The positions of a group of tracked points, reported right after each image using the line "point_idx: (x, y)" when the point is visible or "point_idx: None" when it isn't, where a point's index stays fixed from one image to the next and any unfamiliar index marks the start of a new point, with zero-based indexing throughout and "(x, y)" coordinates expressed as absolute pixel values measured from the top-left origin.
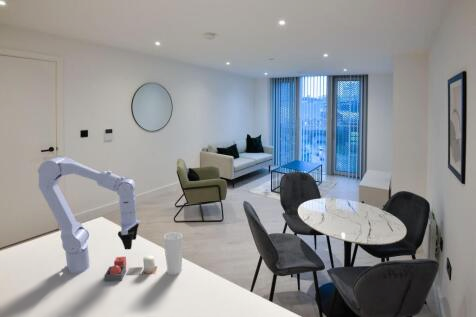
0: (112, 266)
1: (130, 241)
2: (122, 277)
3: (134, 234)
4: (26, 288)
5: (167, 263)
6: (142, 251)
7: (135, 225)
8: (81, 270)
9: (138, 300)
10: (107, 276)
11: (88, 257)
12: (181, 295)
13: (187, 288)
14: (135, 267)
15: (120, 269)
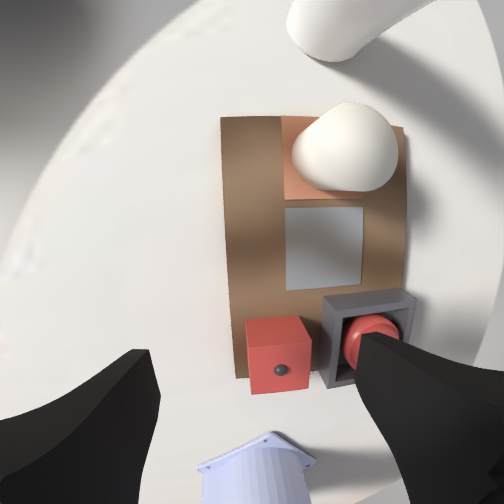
0: None
1: (452, 370)
2: (390, 291)
3: (128, 398)
4: (337, 497)
5: (383, 32)
6: (77, 266)
7: (67, 495)
8: (296, 459)
9: (483, 183)
10: None
11: (263, 483)
12: (452, 41)
13: (419, 14)
14: (286, 254)
15: (374, 323)
